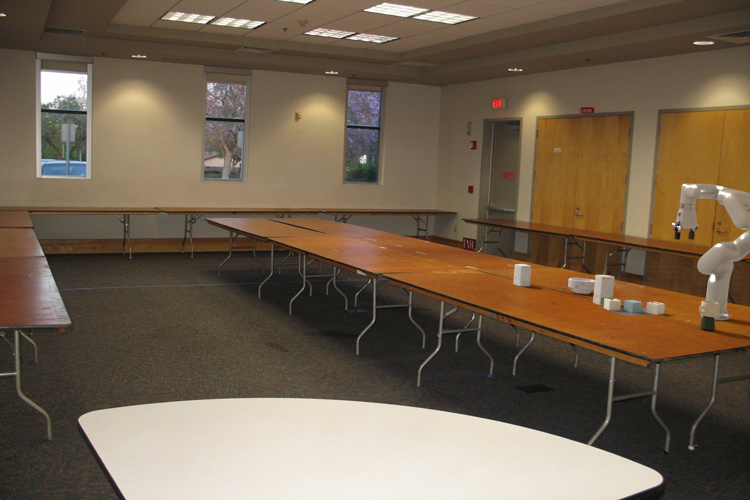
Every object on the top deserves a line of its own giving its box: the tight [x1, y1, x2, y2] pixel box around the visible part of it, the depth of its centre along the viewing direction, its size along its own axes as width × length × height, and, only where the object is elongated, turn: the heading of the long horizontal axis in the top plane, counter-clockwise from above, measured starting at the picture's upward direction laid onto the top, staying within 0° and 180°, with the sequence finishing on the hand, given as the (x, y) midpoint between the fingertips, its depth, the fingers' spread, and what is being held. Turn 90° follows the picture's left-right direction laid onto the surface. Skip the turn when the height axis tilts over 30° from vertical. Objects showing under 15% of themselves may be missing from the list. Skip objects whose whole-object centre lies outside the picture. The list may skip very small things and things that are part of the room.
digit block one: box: [645, 301, 666, 315], centre depth 334 cm, size 6×6×5 cm
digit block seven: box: [603, 297, 622, 311], centre depth 339 cm, size 6×6×5 cm
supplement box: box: [513, 263, 532, 287], centre depth 400 cm, size 7×7×13 cm
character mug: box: [698, 300, 720, 331], centre depth 303 cm, size 11×7×13 cm, turn 106°
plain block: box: [623, 299, 643, 313], centre depth 336 cm, size 6×6×5 cm
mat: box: [602, 306, 656, 317], centre depth 337 cm, size 18×24×1 cm
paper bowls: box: [567, 277, 595, 295], centre depth 384 cm, size 15×15×8 cm
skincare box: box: [592, 274, 616, 306], centre depth 352 cm, size 8×7×16 cm
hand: (684, 239), depth 348 cm, fingers open, 9 cm apart
